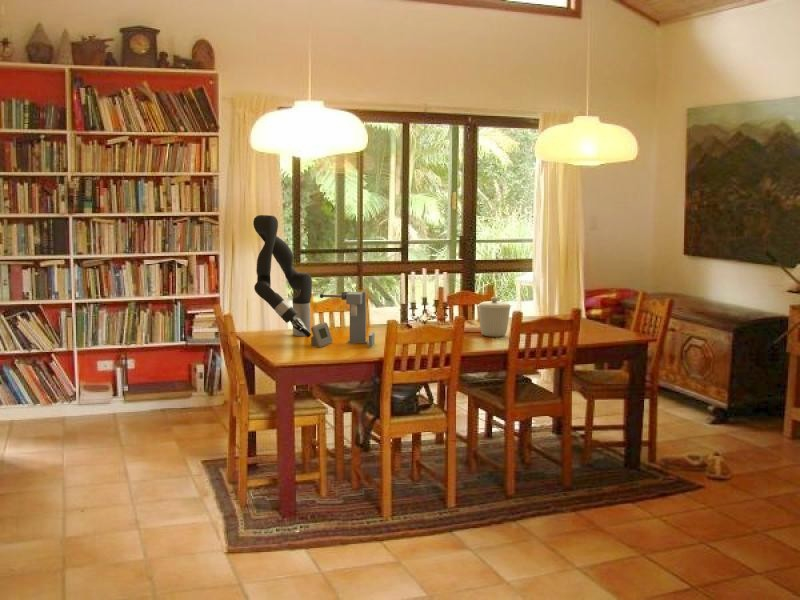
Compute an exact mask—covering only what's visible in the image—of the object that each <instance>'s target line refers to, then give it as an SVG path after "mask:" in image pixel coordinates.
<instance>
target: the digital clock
mask: <svg viewBox="0 0 800 600" xmlns="http://www.w3.org/2000/svg"><path fill="white" fill-rule="evenodd" d="M310 331H311V332H312V333H311V334H312V335H313V336H310V347H316V346H317V348H323V347H326V346H328V344H329V345H330V344H332V343H333V342H334V340H333V337H332V334H331V330H330V328H329V325H328V323H327V322H325V321H324V322H321V323H318V324H314V325H313V326H311V327H310Z"/></svg>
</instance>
